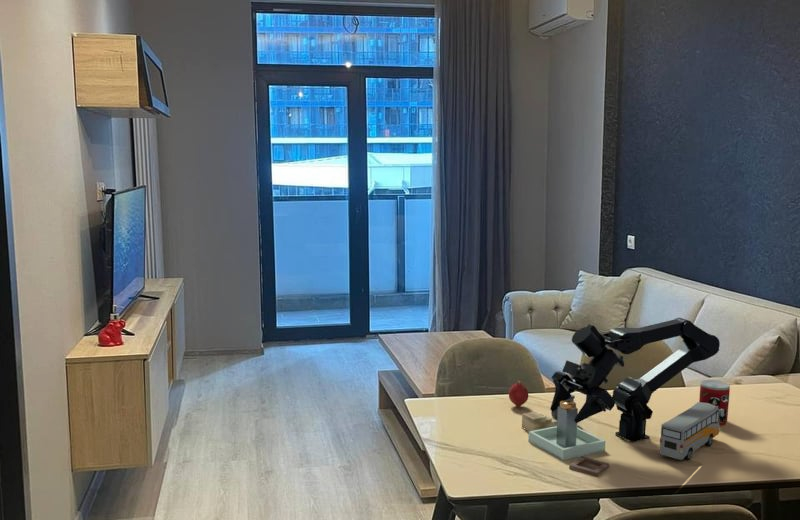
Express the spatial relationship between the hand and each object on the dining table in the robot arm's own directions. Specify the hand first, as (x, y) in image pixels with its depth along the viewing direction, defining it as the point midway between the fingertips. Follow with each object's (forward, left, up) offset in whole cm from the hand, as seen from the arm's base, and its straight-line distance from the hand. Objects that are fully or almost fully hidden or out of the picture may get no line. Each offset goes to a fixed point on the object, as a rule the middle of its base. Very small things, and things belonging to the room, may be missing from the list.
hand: (563, 416), depth 184 cm
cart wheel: (-12, -14, -9) cm, 21 cm away
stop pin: (-1, 0, -8) cm, 8 cm away
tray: (-1, 0, -9) cm, 9 cm away
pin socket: (+3, +13, -9) cm, 16 cm away
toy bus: (-30, +15, -9) cm, 34 cm away
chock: (-4, -14, -9) cm, 17 cm away
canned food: (-52, +3, -9) cm, 53 cm away
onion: (-9, -31, -9) cm, 34 cm away
